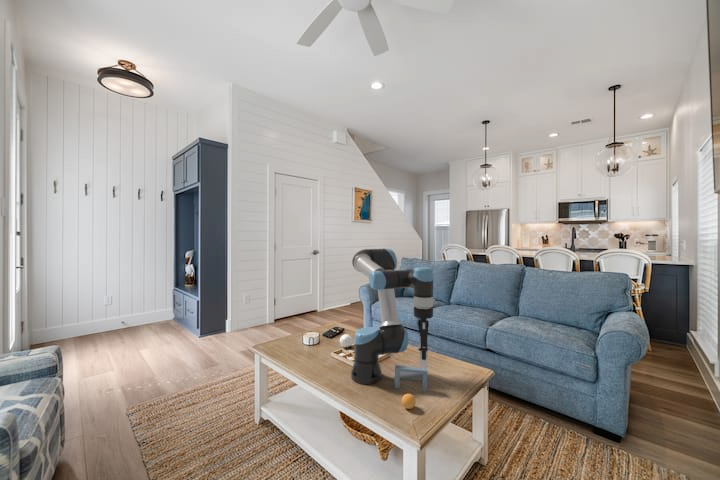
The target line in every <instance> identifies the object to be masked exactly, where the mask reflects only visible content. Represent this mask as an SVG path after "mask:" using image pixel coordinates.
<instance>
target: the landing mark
mask: <svg viewBox="0 0 720 480" xmlns="http://www.w3.org/2000/svg"><path fill="white" fill-rule="evenodd" d="M400 380H406V381H407V380H408V381H417V382H423V373H414V372H404V371H400Z"/></svg>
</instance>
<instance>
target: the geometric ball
mask: <svg viewBox="0 0 720 480" xmlns="http://www.w3.org/2000/svg"><path fill="white" fill-rule="evenodd" d="M339 344H340V346H341V347H343V348H346V347H347V348H349V347H351V346H352V344H353V338H352V336H351V335H350V334H347V333H346V334H343V335H341V336H340V338H339ZM350 345H351V346H350ZM348 346H349V347H348Z"/></svg>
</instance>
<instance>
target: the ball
mask: <svg viewBox="0 0 720 480" xmlns="http://www.w3.org/2000/svg"><path fill="white" fill-rule="evenodd" d="M401 403H402V406H403V407H404V408H405V409H407V410H411V409H413V408H414V407H415V406H416V397H415V396H414V395H413V394H411V393H406V394H404V395H403V396H402V398H401Z"/></svg>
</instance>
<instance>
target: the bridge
mask: <svg viewBox="0 0 720 480" xmlns="http://www.w3.org/2000/svg"><path fill="white" fill-rule="evenodd" d="M428 370H429V369H428V367H427V368H421V367H420V366H407V365H397V364H395V365H394V388H395V389H400V386H401V379H400V371H404V372H414V373H423V381H422V392H428Z"/></svg>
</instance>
